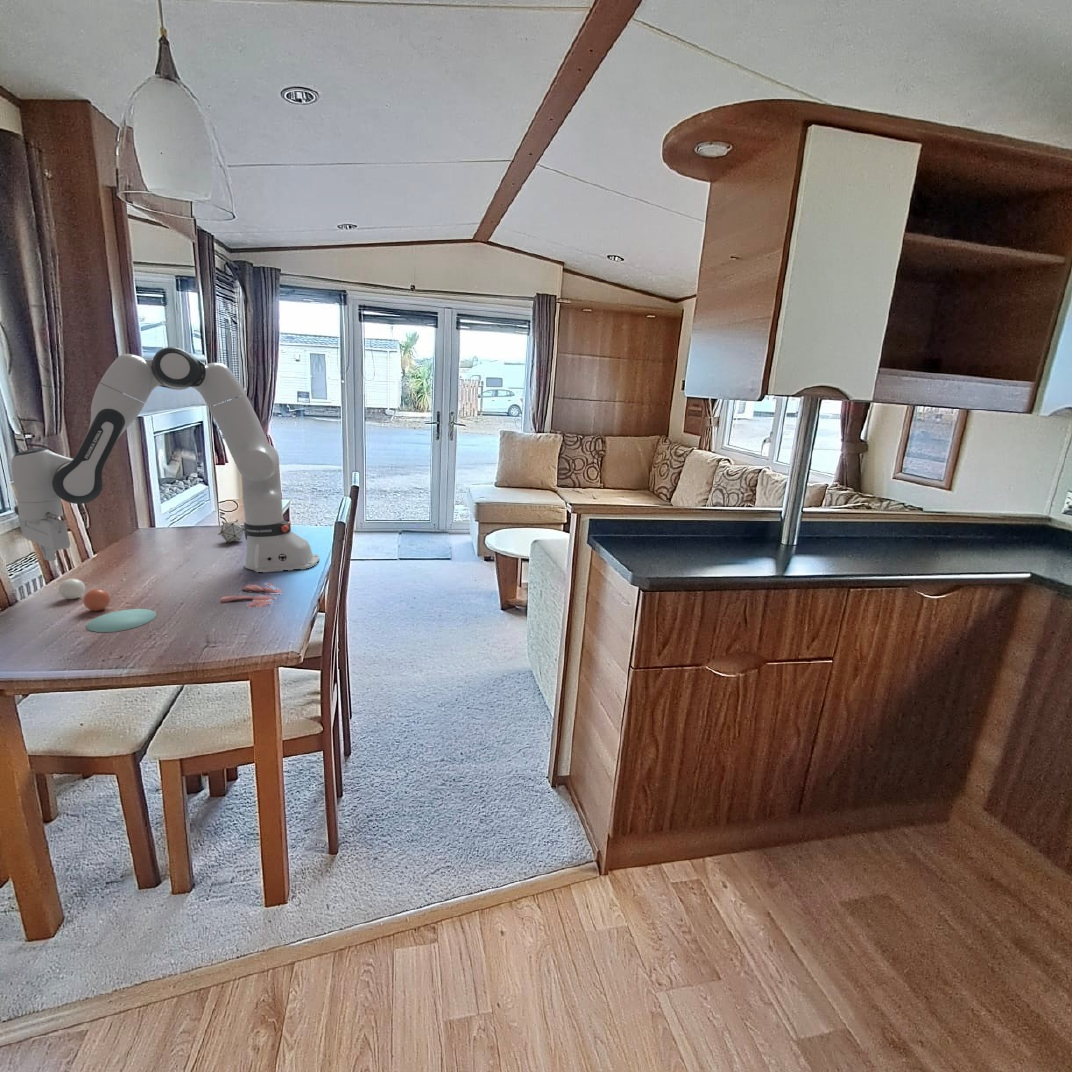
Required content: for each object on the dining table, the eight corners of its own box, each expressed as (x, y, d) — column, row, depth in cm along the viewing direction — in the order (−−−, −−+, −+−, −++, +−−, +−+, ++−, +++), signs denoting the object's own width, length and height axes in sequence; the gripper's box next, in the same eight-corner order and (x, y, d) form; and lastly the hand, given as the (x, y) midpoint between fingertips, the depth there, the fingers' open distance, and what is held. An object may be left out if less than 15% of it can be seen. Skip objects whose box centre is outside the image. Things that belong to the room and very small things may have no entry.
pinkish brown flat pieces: (263, 614, 149) (262, 606, 148) (189, 606, 153) (188, 598, 152) (307, 588, 168) (307, 580, 168) (240, 582, 172) (240, 574, 172)
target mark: (166, 608, 149) (166, 607, 149) (139, 631, 136) (138, 630, 136) (106, 610, 147) (106, 609, 147) (73, 633, 134) (73, 632, 134)
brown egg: (116, 605, 150) (113, 585, 149) (104, 613, 145) (101, 593, 144) (93, 606, 149) (89, 586, 148) (80, 614, 144) (76, 593, 143)
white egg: (91, 594, 157) (87, 575, 156) (79, 601, 152) (75, 582, 151) (69, 595, 156) (65, 576, 155) (56, 602, 151) (51, 582, 150)
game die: (237, 552, 210) (239, 535, 204) (213, 545, 208) (214, 527, 202) (248, 535, 217) (250, 518, 210) (224, 528, 215) (225, 510, 208)
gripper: (72, 514, 150) (81, 564, 154) (39, 503, 161) (48, 550, 164) (43, 518, 145) (52, 570, 149) (10, 506, 155) (20, 555, 159)
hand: (50, 559), depth 156 cm, fingers closed
